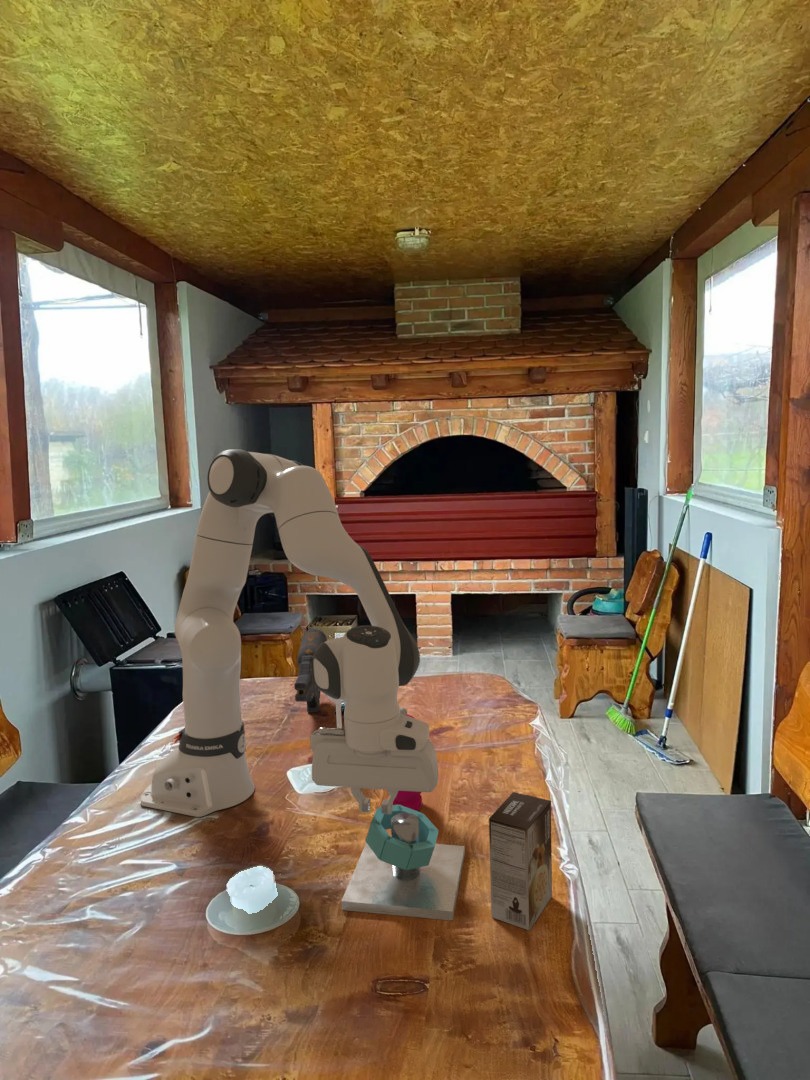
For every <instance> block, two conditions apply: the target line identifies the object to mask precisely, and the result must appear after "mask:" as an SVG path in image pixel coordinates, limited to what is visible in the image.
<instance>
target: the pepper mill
mask: <svg viewBox="0 0 810 1080" xmlns="http://www.w3.org/2000/svg"><path fill="white" fill-rule="evenodd" d="M400 713H402V714H404V715H406V716H409V717H412V718H414V719H416V718H415V717H414V716H413V715H411V714H408V709H407V708H406V707H400ZM421 794H422V792H415V791H398V793H397V796H396V798H395V799H394V801H393V805H402V806H404V807H407V808H410V809H412V810H415V811H418V812H419V810H420V809H422V806H423V798H422V795H421Z"/></svg>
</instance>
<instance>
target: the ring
mask: <svg viewBox="0 0 810 1080" xmlns="http://www.w3.org/2000/svg"><path fill="white" fill-rule="evenodd" d="M400 813H411V814H414V815H416V816H417V817H418V822H419V843H415V844H408V843H406V842H403V841H400V840H398V839H395V838H393V837H392V836H391V835H390V833H389V832H388V831H387V830H391V818H392V817H393V816H395V815H397V814H400ZM369 825H370V826H369V828H368V832H367V835H366V839H365V844H366V843H367V844H368V845H369V847H370V848H371V849H372V851H373V852H374V853H375V855H376V856H377V858H378V859H380V860H381V861H383V862H386V863H389V864H391V865H394V866H396V867H399V868H401V869H404V870H410V869H414V868H419V867H424V866H428V865H429V862H430V859H431V856H432V853H433V850H434V847H435V844H437V839H438V835H439V831H440V830H439V829H438V828H437V827H436V826H435V824H433V822H431V820H430V819H429V818H428V817H427V816H426V815H425V814H424V813H423V812H420V811H419V810H418V811H415V810H412V809H410V808H407V807H404V806H402V805H393V811H392V813H391V814H382V806H379V807H377V808H376V811H375V812H374V814H373V817H372V819H371V822H370V824H369Z"/></svg>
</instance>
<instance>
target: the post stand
mask: <svg viewBox="0 0 810 1080" xmlns="http://www.w3.org/2000/svg"><path fill="white" fill-rule="evenodd" d="M390 832H391V833H390V834H391V835H390V836H391V837H393V838H395V839H398V840H400V841H403V842H406V843H408V844H415V843H419V822H418V817H417V816H416V815H414V814H411V813H400V814H397V815H395V816H393V817H392V818H391V829H390ZM465 847H466V846H465V845H456V844H443V843H442V844H441V843H440V844H439V843H436V844H435V847H434V850H433V853H432V856H431V859H430V862H429V865H428V866H424V867H419V868H414V869H410V870H404V869H401V868H399V867H396V866H394V865H391V864H389V863H386V862H383V861H381V860H380V859H378V858H377V856H376V855H375V853H374V852H373V851H372V849H371V848H370V847H369V845H368V844H367V843H366V842H365V845H364V847H363V849H362V852H361V853H360V857H359V858H358V861H357V863H356V866H355V868H354V870H353V873H352V875H351V877H350V880H349V882H348V885H347V887H346V889H345V892H344V894H343V896H342V898H341V901H340V902H341V903H340V904H341V911H347V912H348V911H349V912H357V913H371V914H380V915H390V916H399V917H409V918H421V919H430V920H431V919H432V920H442V921H453V920H454V917H455V916H454V915H455V910H456V904H457V898H458V894H459V887H460V882H461V878H462V871H463V867H464V860H465V854H466V850H465Z"/></svg>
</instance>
